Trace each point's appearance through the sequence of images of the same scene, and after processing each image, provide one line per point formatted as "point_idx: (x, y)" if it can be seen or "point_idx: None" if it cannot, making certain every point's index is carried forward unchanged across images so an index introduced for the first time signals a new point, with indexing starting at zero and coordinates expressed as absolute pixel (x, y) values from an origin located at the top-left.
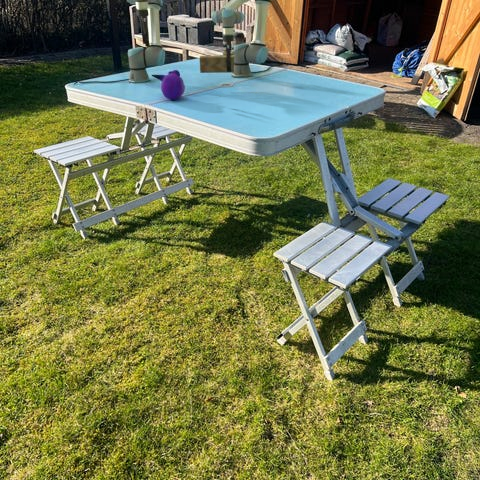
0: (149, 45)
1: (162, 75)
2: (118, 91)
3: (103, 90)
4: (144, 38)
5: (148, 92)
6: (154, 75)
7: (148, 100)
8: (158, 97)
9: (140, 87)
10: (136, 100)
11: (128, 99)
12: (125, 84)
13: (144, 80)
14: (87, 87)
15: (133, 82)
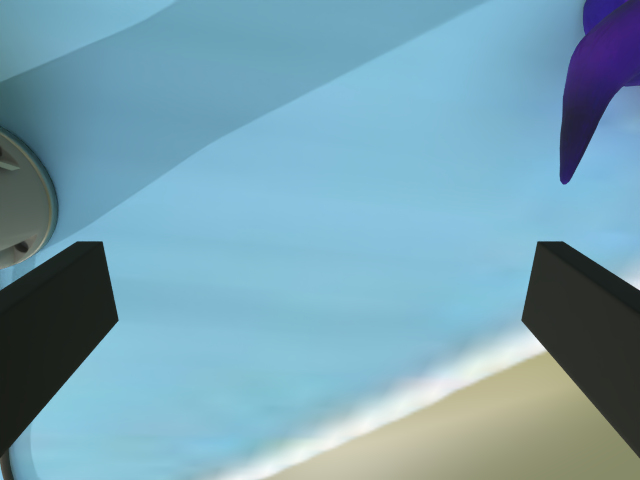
0: (571, 252)
1: (625, 79)
2: (293, 342)
3: (236, 407)
4: (36, 350)
5: (400, 179)
6: (580, 158)
7: (627, 208)
8: None
9: (217, 211)
10: None
11: None
12: None
13: (33, 164)
14: (130, 469)
15: (47, 240)
